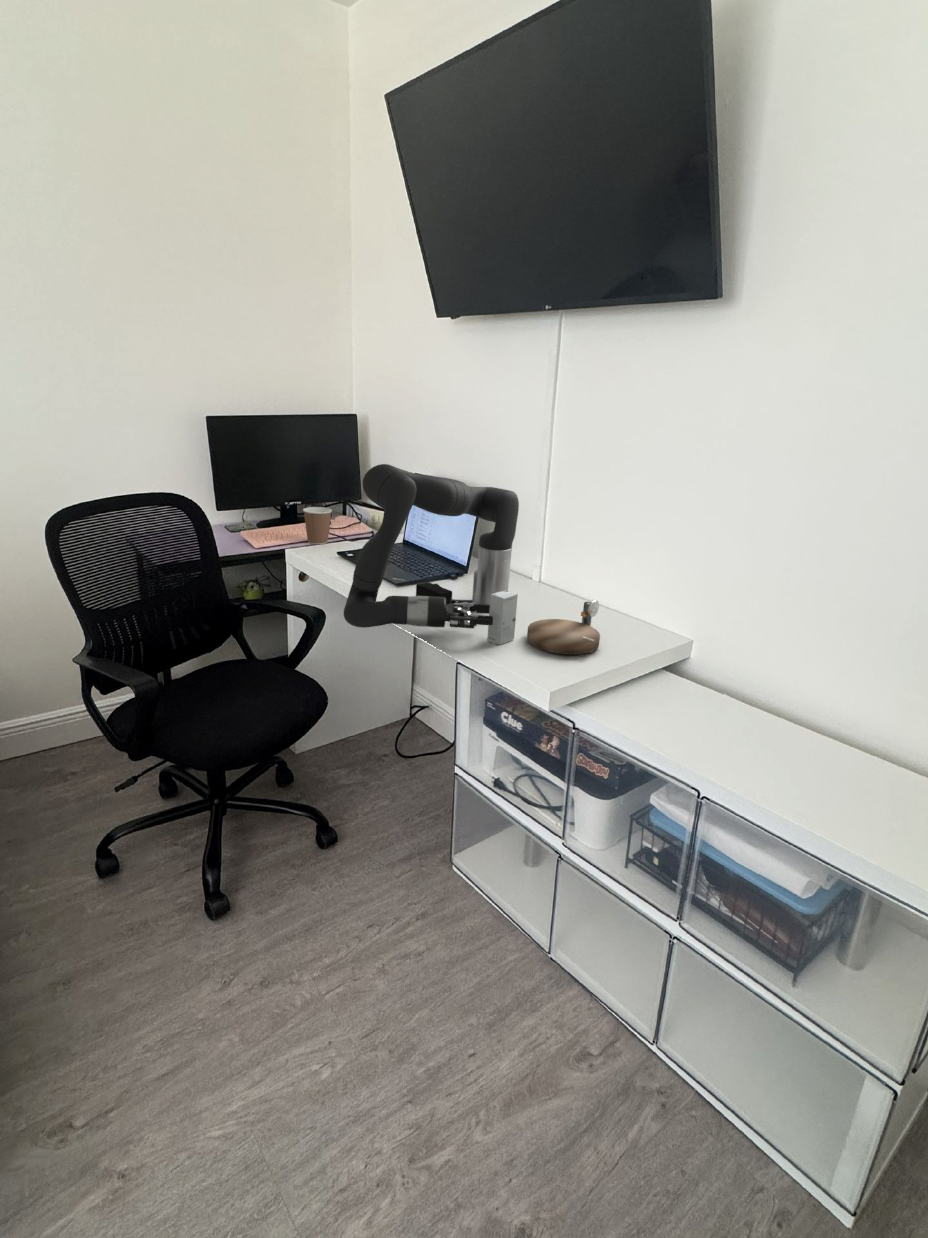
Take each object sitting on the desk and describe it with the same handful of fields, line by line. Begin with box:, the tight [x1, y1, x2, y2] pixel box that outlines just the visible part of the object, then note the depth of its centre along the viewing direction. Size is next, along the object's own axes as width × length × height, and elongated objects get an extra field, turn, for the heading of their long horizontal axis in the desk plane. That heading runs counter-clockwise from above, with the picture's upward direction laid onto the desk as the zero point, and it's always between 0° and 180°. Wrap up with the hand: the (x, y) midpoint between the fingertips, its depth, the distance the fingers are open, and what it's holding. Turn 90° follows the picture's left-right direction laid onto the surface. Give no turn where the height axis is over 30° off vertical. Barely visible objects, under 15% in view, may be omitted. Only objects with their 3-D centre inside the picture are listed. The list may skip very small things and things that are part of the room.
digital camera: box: [415, 581, 453, 604], centre depth 192 cm, size 10×5×7 cm, turn 43°
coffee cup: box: [302, 506, 333, 545], centre depth 255 cm, size 10×10×12 cm
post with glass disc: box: [580, 599, 600, 627], centre depth 183 cm, size 5×3×9 cm, turn 141°
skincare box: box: [487, 590, 519, 646], centre depth 173 cm, size 6×4×12 cm
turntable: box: [526, 618, 601, 655], centre depth 175 cm, size 18×18×2 cm
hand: (491, 614), depth 173 cm, fingers open, 8 cm apart
